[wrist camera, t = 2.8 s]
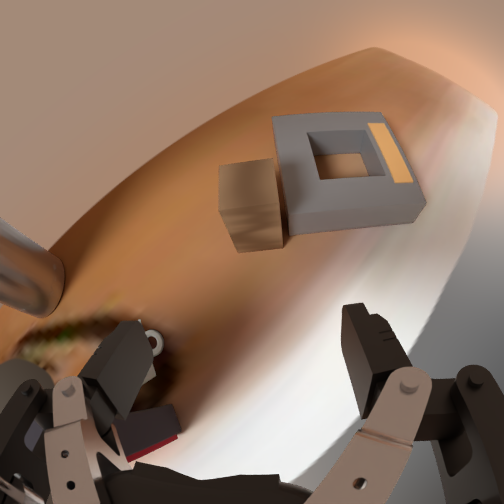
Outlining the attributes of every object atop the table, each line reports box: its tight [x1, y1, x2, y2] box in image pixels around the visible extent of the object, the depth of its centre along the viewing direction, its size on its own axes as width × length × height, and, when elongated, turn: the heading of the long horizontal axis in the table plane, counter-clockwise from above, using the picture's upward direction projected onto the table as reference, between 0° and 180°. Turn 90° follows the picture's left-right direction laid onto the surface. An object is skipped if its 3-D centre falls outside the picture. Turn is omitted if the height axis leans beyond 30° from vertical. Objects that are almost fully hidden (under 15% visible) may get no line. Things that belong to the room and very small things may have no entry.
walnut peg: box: [219, 158, 283, 253], centre depth 24 cm, size 4×4×8 cm
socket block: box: [272, 112, 426, 236], centre depth 28 cm, size 14×14×4 cm
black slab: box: [24, 404, 182, 463], centre depth 14 cm, size 11×4×15 cm, turn 111°
